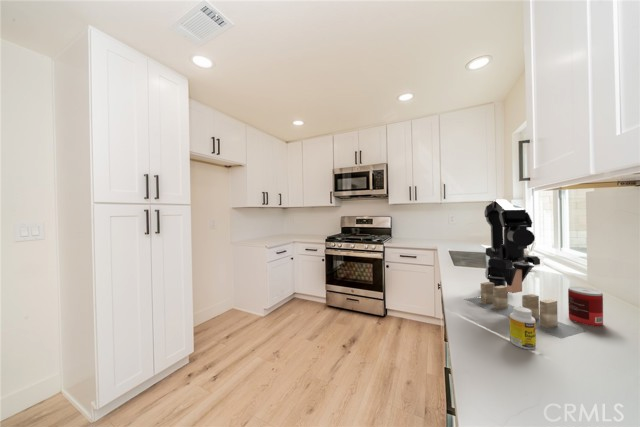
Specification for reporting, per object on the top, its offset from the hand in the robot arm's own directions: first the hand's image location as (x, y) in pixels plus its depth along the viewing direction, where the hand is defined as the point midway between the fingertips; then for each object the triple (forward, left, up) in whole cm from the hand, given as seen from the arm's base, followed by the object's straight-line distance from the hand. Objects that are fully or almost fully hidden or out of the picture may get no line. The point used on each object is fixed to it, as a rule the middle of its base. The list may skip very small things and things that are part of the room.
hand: (514, 284), depth 84 cm
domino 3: (0, 0, -2) cm, 2 cm away
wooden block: (0, +10, -10) cm, 14 cm away
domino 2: (0, -5, -10) cm, 11 cm away
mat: (0, 0, -11) cm, 11 cm away
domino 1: (0, -10, -10) cm, 14 cm away
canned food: (-15, +12, -11) cm, 22 cm away
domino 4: (0, +5, -10) cm, 12 cm away
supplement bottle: (+19, +14, -11) cm, 26 cm away
